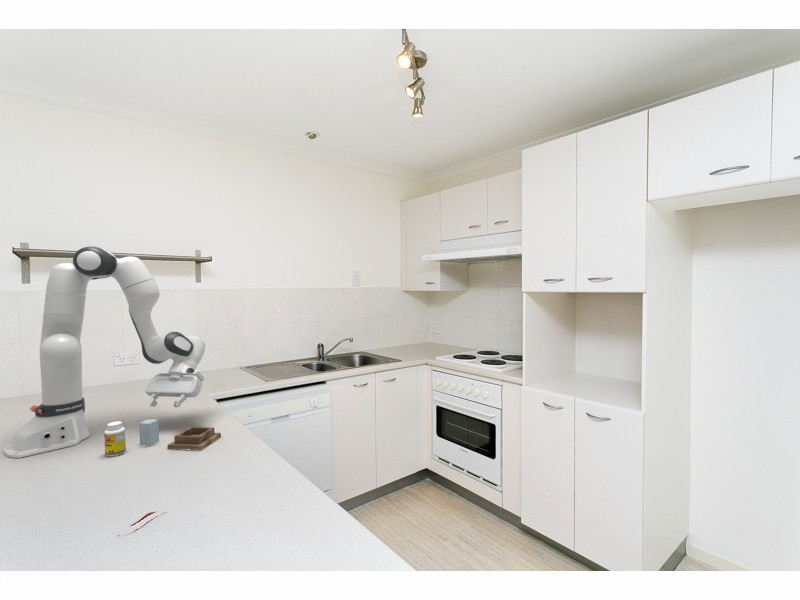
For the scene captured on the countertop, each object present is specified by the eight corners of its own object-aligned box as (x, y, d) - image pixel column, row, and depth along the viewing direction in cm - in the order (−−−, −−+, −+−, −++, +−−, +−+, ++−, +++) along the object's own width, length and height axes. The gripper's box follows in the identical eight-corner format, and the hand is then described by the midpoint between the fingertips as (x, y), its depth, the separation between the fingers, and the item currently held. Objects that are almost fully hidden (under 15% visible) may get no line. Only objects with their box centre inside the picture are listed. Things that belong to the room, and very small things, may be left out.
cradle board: (200, 451, 131) (200, 439, 131) (167, 449, 133) (167, 437, 132) (220, 437, 143) (220, 426, 143) (190, 435, 145) (189, 425, 144)
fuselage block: (150, 446, 135) (150, 423, 135) (140, 445, 136) (139, 423, 135) (159, 441, 139) (158, 419, 139) (148, 441, 140) (148, 419, 139)
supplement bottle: (101, 455, 129) (100, 424, 128) (120, 448, 134) (119, 419, 133) (110, 458, 126) (109, 427, 125) (129, 452, 131) (128, 422, 130)
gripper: (152, 369, 153) (133, 401, 143) (201, 369, 151) (185, 402, 141) (160, 377, 157) (143, 409, 148) (208, 378, 155) (193, 410, 146)
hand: (164, 406), depth 145 cm, fingers open, 8 cm apart
